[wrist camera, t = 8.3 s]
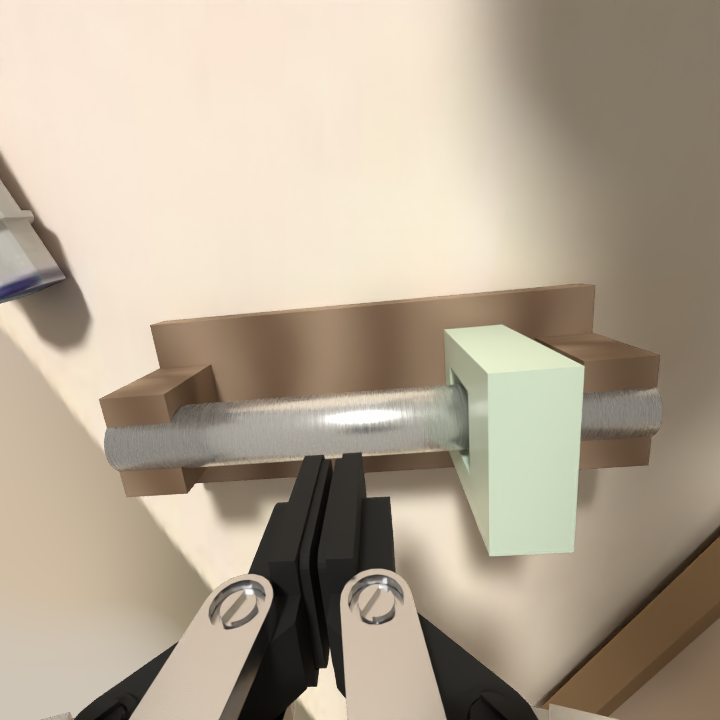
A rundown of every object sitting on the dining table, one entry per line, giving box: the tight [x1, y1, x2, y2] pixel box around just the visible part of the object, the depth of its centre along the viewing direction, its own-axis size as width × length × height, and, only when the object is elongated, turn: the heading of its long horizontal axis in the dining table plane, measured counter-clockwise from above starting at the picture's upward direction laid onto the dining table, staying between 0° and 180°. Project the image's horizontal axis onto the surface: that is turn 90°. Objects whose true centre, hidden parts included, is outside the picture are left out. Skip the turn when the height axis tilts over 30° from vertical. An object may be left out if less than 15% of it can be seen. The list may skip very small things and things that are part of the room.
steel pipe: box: [104, 384, 663, 471], centre depth 18 cm, size 24×5×5 cm, turn 95°
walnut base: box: [99, 284, 660, 497], centre depth 20 cm, size 24×10×6 cm, turn 95°
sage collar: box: [444, 325, 585, 556], centre depth 17 cm, size 3×7×8 cm, turn 5°
